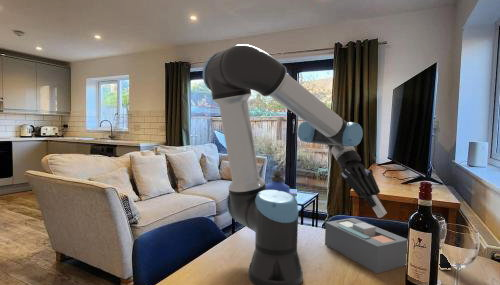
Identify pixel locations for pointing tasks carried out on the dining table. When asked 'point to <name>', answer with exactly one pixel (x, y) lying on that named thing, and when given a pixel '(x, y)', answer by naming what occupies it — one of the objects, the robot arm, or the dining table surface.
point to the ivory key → (347, 224)
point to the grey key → (365, 229)
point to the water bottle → (278, 183)
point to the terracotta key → (382, 239)
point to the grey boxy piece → (366, 246)
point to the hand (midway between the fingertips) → (382, 215)
